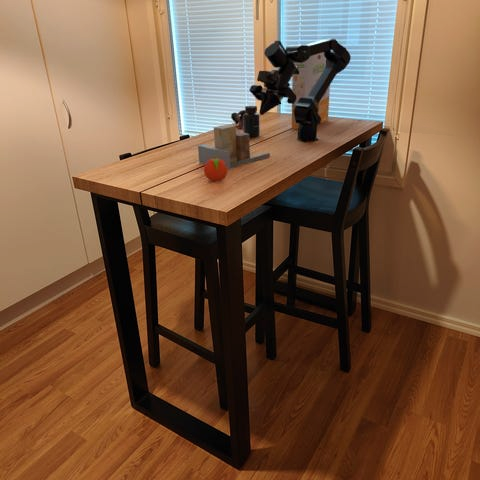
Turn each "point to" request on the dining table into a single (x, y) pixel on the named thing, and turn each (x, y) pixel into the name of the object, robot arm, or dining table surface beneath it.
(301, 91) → the cereal box
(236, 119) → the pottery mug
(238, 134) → the walnut block
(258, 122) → the supplement bottle
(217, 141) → the skincare box
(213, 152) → the backstop rail
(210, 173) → the red rounded fruit
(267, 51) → the robot arm
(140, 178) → the dining table surface
